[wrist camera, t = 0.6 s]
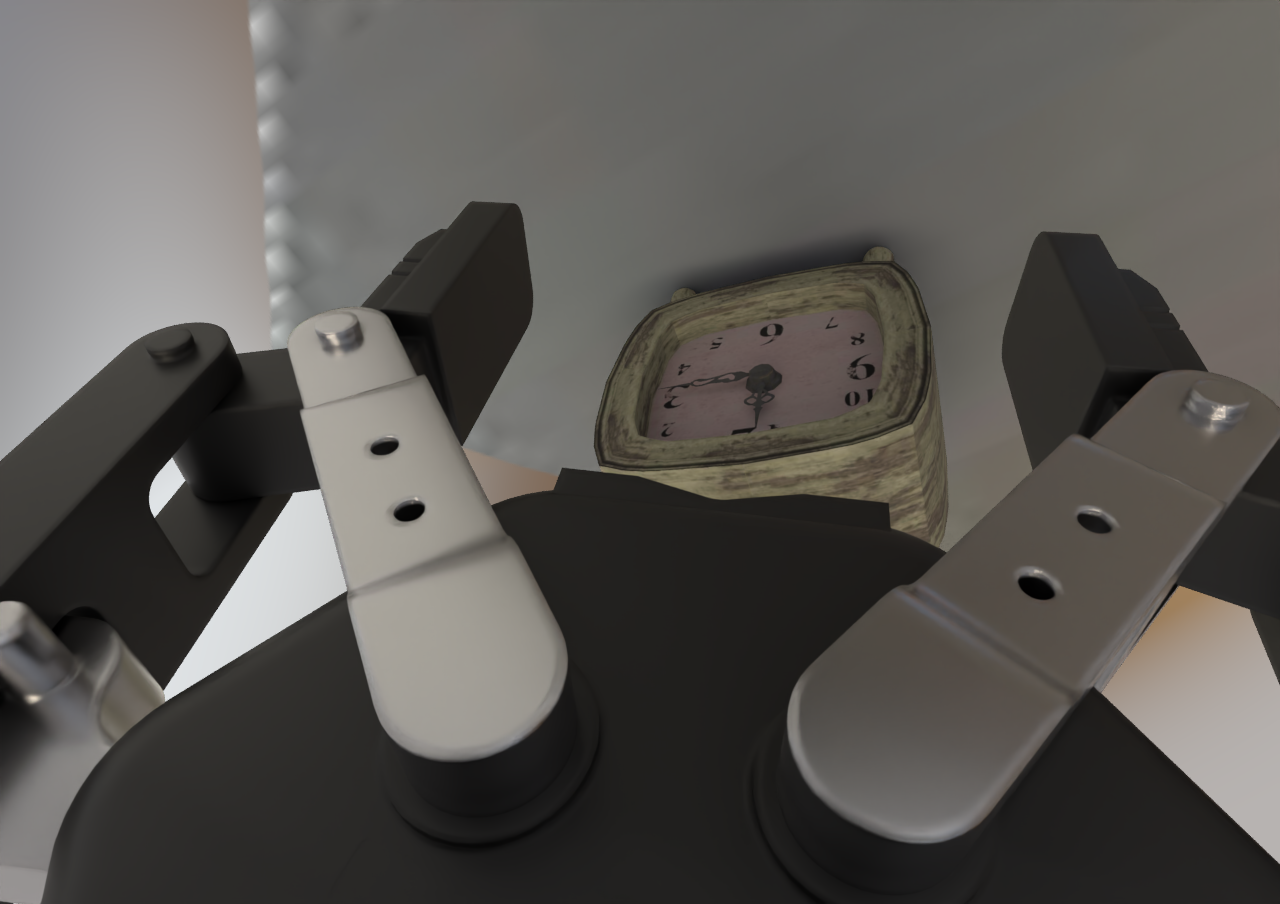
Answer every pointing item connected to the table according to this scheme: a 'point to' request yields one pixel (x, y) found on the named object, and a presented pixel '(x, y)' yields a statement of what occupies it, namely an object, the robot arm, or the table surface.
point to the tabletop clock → (787, 393)
